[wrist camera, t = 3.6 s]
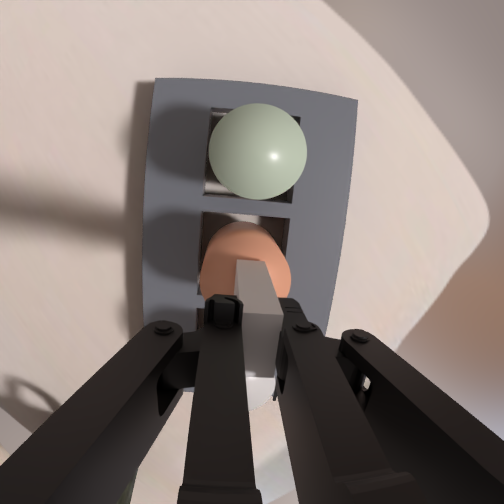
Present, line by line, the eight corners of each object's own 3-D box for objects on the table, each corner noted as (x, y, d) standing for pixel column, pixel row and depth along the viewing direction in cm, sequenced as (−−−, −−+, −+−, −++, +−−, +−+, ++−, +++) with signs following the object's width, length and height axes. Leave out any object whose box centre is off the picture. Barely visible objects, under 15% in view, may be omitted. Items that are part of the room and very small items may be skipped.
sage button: (210, 189, 21) (204, 195, 16) (217, 114, 20) (213, 99, 15) (285, 195, 21) (301, 204, 17) (292, 122, 20) (311, 110, 15)
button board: (152, 374, 27) (148, 387, 25) (161, 84, 21) (155, 77, 19) (306, 382, 28) (311, 395, 26) (348, 104, 22) (357, 99, 20)
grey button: (201, 369, 24) (196, 410, 20) (202, 314, 23) (196, 350, 18) (263, 372, 25) (270, 413, 20) (270, 318, 24) (280, 354, 19)
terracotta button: (204, 288, 23) (197, 319, 18) (208, 218, 22) (202, 233, 17) (273, 293, 23) (284, 324, 18) (281, 224, 22) (296, 241, 17)
